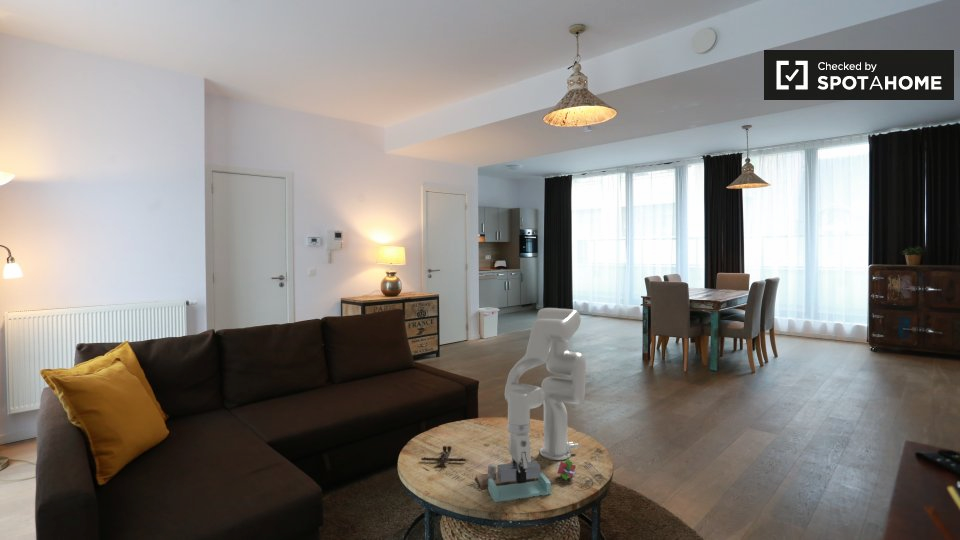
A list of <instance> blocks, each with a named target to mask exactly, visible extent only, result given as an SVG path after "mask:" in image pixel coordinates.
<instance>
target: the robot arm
mask: <svg viewBox="0 0 960 540" xmlns="http://www.w3.org/2000/svg"><path fill="white" fill-rule="evenodd" d="M536 317H537V319H536V320H534V322H533V323H532V325H531V326H532V327H531V329H530V335H529V340H528V343H527V347H526V352H525V355H524V356H523V357H521V358H520V359H519V360H518V361H517V362H516V363H515V364H514V366H513V367H512V368H511V369H510V371H509V372H508V376H507V380H506V383H505V388H504V398H505V400H506V402H507V431H508V433H509V438H508V439H509V444H508V445H509V447H508V448H509V454H510V456H511V463H517V468H518V471H517V484H520V483H526V469H527V462H528V463H530V462H531V461H532V459H531V458H532V457H531V456H532V455H531V453H532V452H531V440H530V433H531V419H530V418H531V410H533V409H534V410H535V409H536V408H539V407H540V406H542V405H543V446H542V447H541V448H540V449H539V453H540V455H541V456H542V457H543V458H545V459H548V460H552V461H553V460H554V461H564V459H565V460H566V458H567V459H569V458H570V457H571V456H572V449H579V448H580V447H579V443H574V442H573V441H569V442H568V410H567V407H566V406H565V404H573V405H580V404H582V403H583V402H584V399H585V395H586V375H587V373H586V372H587V371H586V370H587V368H586V364H587V363H586V359H585V358H586V357H585V356H584V355H583V354H582V353H581V352H578V351H570V350H569V349H568V348H569V347H568V345H569V344H568V343H569V342H568V341H569V340H570V339H571V338H572V337H573V336H574V334H575V333H576V332H577V331H578V329H579V327H580V326H581V319H582V318H581V315H580V313H579V311H578V310H576V309H571V308H558V307H544V308H541V309H539V310H538V311H537V316H536ZM543 365H546V366H545V367H546V370H547V371H548V372H549V373H552V374H556V375H562V376H570V377H571V378H568V377H567V378H566V377H561V376H560V377H558V376H547V377H545V378H544V379H543V380H542V382H541V386H538V385H532V384H526V383H520V381H519V380H520V378H521V376H523V374H524V373H526V372H527V371H529V370H531V369H533V368H536V367H540V366H543ZM520 461H521V462H520ZM521 464H522V466H521V467H520V465H521Z"/></svg>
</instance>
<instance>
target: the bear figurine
mask: <svg viewBox="0 0 960 540" xmlns="http://www.w3.org/2000/svg"><path fill="white" fill-rule="evenodd" d="M451 451H452V446H450V445H448V446H446V445H444V446H443V445H442V453H441V454H440V457H427V456H425V457H421V458H420V459H421V460H422V461H429V462H430V461H433V462H434V461H435V462H436V464H435V465H436V466H440V467H446V466H448V465H449V462H466V461H467V459H466V458H464V457H462V458H455V457H449V456H450V454H451Z"/></svg>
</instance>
